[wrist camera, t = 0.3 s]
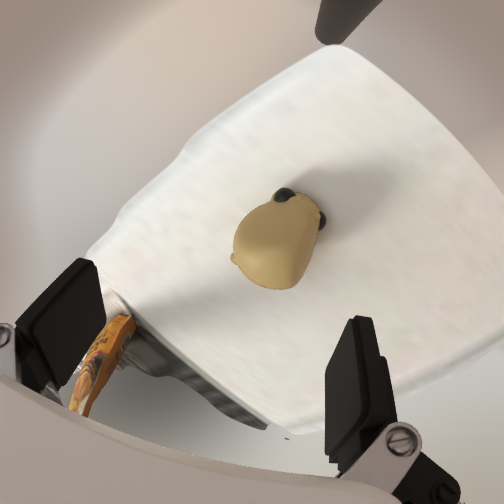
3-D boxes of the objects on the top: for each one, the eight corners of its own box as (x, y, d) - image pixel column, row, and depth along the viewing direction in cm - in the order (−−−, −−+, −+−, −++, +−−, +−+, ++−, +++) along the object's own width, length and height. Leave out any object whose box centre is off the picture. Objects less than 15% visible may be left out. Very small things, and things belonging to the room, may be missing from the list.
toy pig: (308, 233, 45) (356, 217, 35) (267, 303, 41) (312, 306, 31) (256, 190, 42) (295, 161, 33) (207, 260, 38) (236, 249, 29)
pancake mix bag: (153, 325, 55) (88, 453, 31) (114, 357, 63) (61, 456, 39) (126, 302, 53) (47, 426, 29) (91, 339, 61) (32, 435, 37)
